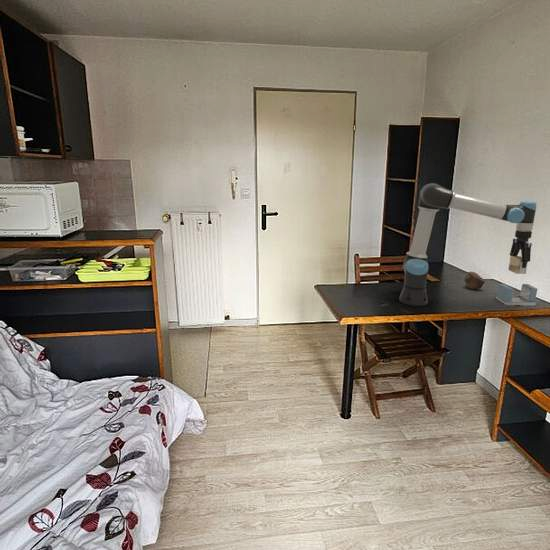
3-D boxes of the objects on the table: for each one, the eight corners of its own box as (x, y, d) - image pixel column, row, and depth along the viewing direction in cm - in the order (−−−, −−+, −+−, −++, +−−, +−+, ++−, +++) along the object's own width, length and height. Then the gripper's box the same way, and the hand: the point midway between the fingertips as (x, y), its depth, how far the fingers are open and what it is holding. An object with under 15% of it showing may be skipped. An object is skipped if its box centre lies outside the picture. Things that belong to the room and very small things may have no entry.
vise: (506, 305, 221) (509, 289, 218) (495, 298, 231) (498, 283, 228) (535, 305, 220) (538, 289, 218) (523, 299, 231) (526, 283, 228)
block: (516, 273, 216) (518, 259, 214) (508, 269, 224) (510, 256, 222) (525, 273, 216) (528, 259, 214) (517, 269, 224) (519, 256, 222)
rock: (489, 284, 242) (479, 276, 239) (476, 296, 246) (466, 288, 242) (477, 274, 253) (468, 266, 249) (465, 285, 256) (456, 278, 253)
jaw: (505, 301, 221) (508, 288, 219) (497, 296, 230) (499, 283, 228) (512, 301, 221) (514, 288, 219) (503, 296, 230) (505, 284, 227)
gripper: (543, 233, 204) (535, 276, 210) (520, 227, 224) (513, 266, 230) (528, 233, 204) (521, 276, 210) (506, 227, 224) (500, 266, 230)
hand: (517, 271), depth 220 cm, fingers closed on block, 8 cm apart
